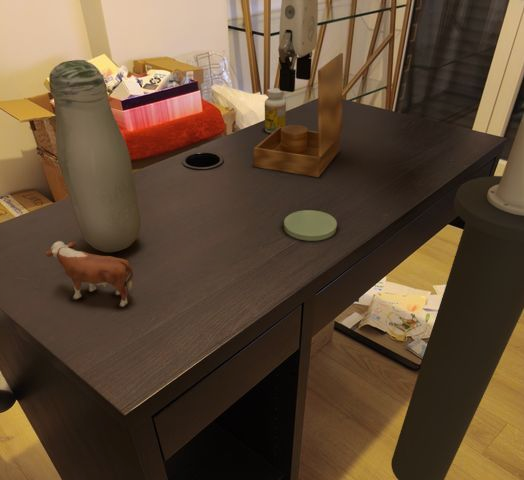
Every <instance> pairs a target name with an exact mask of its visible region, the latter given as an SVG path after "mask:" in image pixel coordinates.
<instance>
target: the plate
mask: <svg viewBox="0 0 524 480" xmlns="http://www.w3.org/2000/svg"><path fill="white" fill-rule="evenodd" d="M337 228H338V222H337V220H336V218H335V217H334V216H332V215H331V214H329V213H327V212H324V211H320V210H312V209H304V210H298V211H295V212H292V213H289V214H288V215H287V216H286V217H285V218H284V220H283V230H284V231H285V233H286V234H287V235H288V236H290V237H292V238H294V239H296V240H301V241H308V242H315V241H323V240H327V239H329V238H331V237H332V236H334V235H335V234H336V232H337Z"/></svg>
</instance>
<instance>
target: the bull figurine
mask: <svg viewBox="0 0 524 480" xmlns="http://www.w3.org/2000/svg"><path fill="white" fill-rule="evenodd" d="M76 245H77V244H76V242H74V241H73V242H72V241H70V242H68V243H67V244H65V242H64V241H61V240H57V241H56V242H54V243H53V244H52V245H51V248H50V250H47V251H46V252H45V256H46V257H47V258H51V257H54V258H56V259H57V260H58V262H59V264H60V265H61V266H62V268H63V269H64V271H65V274H66V276H67V277H69V278H70V279H71V281H72V283H73V289H74V291H75V292H74V295H73V296H72V299H73V300H79V299H80V298H82V297H83V296H82V293H81V289H82V287H81V285H82V283H87V284H88V291H89V292H90V293H92V292H94V291H95V290H97V288H98V287H97V286H102V287H107V285H108V284H110V285H112V286H113V287H114V288H115V289H116V291H115V292H114V294H115V295H116V296H120V297H121V300H120V303H119V307H121V308H123V307H125V306H126V305H128V303H129V301H128V293H129V292H128V291H131V290H132V287H133V276H134V270H133V268H132V266H131V263H130V262H129V261H128V260H127V259H125V258H120V257H115V256H111V255H99V254H94V253H89V252H86V251H82V250H76V249H73V248H75V247H76ZM128 276H129V278H127V277H128Z"/></svg>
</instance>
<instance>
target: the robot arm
mask: <svg viewBox="0 0 524 480" xmlns="http://www.w3.org/2000/svg"><path fill="white" fill-rule="evenodd" d="M280 4H281V6H280V16H279V19H280V20H279V34H278V42H279V43H278V56H279V57H278V62H279V63H278V69H279V77H278V78H279V80H278V88H279V90H280V91H283V92H288V93H294V92H295V91H296V79H297V80H305V81H309V80H310V79H311V77H312V76H311V75H312V60H313V51H314V50H315V49H316V47H317V44H318V24H319V23H318V21H319V20H318V19H319V17H318V16H319V0H281V3H280ZM501 176H502V178H501V181H500V184H498V185H495V186H493V187H491V188H490V189H489V191H488V193H487V199H488V201H489V202H490V203H491V204H492V205H493V206H495V207H496V208H498V209H500V210H502V211H505V212H508V213H511V214H515V215H521V216H524V113H523V114H522V117H521V120H520V123H519V126H518V129H517V131H516V135H515V137H514V141H513V143H512V146H511V149H510V152H509V154H508V157H507V161H506V163H505V166H504V169H503V172H502V175H501Z"/></svg>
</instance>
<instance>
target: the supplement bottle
mask: <svg viewBox="0 0 524 480" xmlns="http://www.w3.org/2000/svg"><path fill="white" fill-rule="evenodd" d="M266 97H267V98H266V99H265V100H264V131H265V132H266V133H267V134H271V133H272V132H274V131H275V130H276V129H277V128H278V127H284V126H286V119H287V116H286V115H287V112H286V111H287V101H286V100H285V99H284V98H283V97H284V91H280V90H279V87H272V88H268V89H267V91H266Z"/></svg>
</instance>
